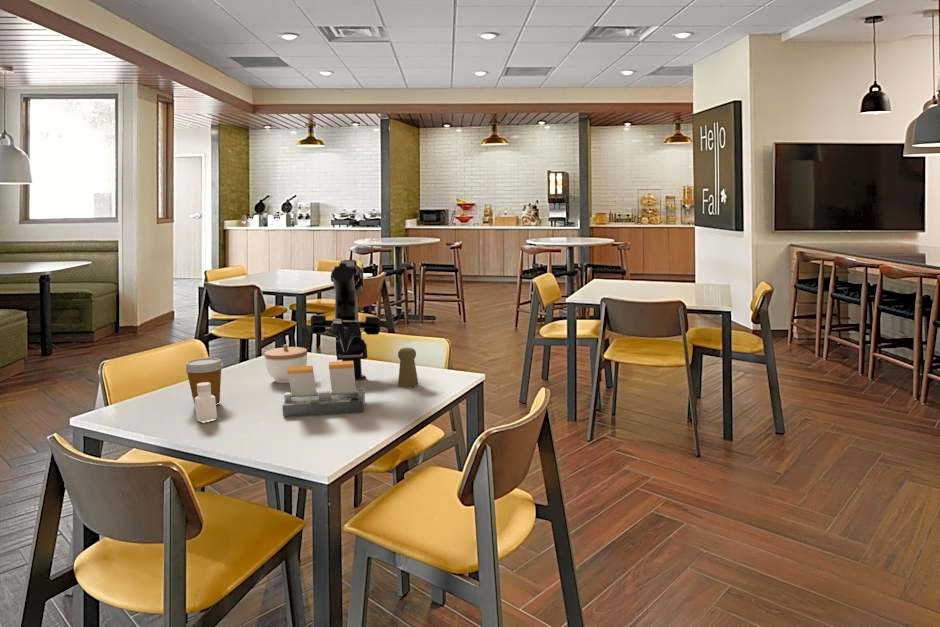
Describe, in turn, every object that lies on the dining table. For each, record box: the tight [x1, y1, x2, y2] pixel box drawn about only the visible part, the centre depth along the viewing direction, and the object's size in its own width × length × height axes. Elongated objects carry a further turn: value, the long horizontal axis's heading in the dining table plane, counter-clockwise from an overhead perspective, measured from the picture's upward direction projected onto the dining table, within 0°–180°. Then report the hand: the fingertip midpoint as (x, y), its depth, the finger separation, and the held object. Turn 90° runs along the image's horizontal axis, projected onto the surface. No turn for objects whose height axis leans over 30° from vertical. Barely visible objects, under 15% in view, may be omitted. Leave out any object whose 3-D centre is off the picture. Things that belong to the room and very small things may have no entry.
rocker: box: [328, 360, 358, 395], centre depth 171 cm, size 1×7×10 cm
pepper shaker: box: [397, 347, 419, 388], centre depth 195 cm, size 6×6×11 cm
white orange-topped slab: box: [287, 365, 319, 397], centre depth 169 cm, size 1×7×10 cm
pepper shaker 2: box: [194, 382, 218, 421], centre depth 166 cm, size 4×4×10 cm
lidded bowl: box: [264, 344, 308, 384], centre depth 204 cm, size 13×13×11 cm
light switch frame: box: [282, 388, 366, 417], centre depth 173 cm, size 9×20×5 cm, turn 96°
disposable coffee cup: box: [184, 357, 224, 405], centre depth 180 cm, size 10×10×12 cm
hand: (345, 351), depth 180 cm, fingers closed
